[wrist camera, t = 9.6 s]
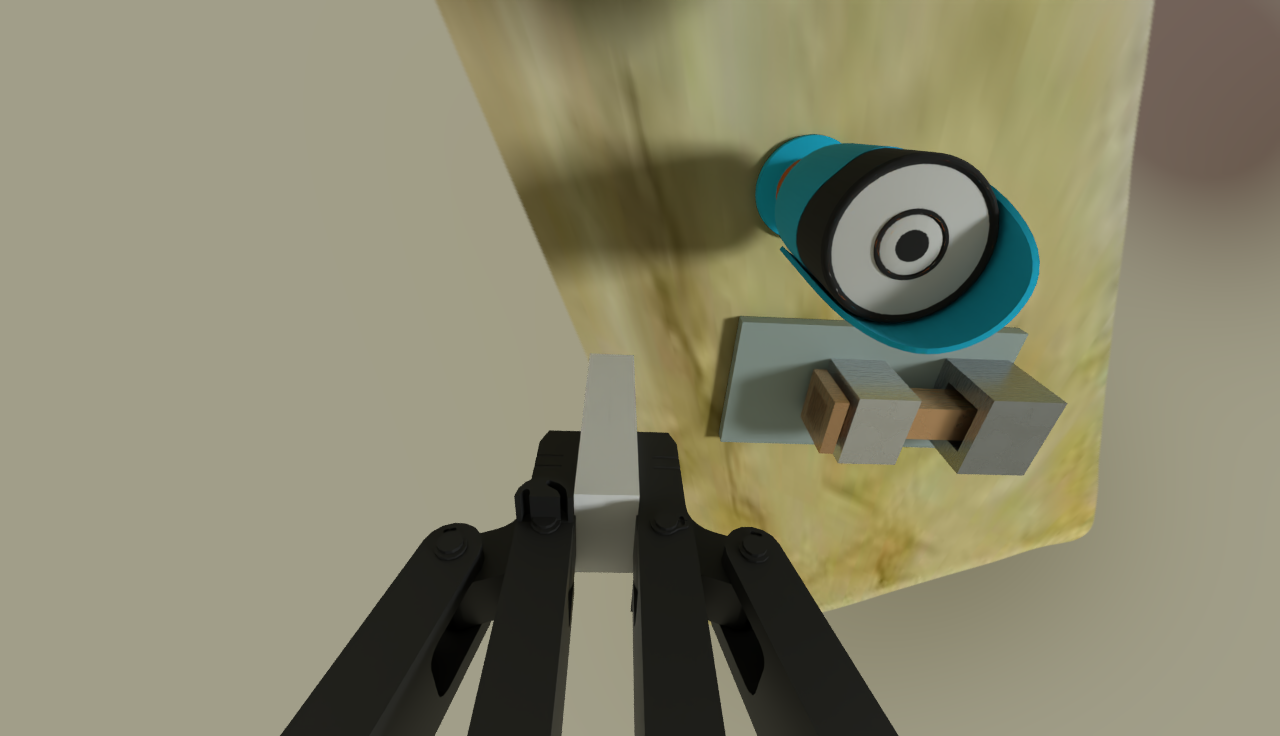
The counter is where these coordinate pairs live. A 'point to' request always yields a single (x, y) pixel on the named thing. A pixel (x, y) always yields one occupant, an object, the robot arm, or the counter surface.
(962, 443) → the socket
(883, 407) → the sleeve
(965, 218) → the security camera
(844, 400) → the bolt
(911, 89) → the counter surface
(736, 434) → the board
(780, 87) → the counter surface
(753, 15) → the counter surface
